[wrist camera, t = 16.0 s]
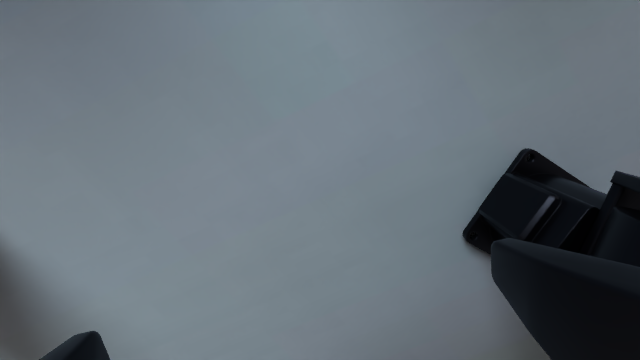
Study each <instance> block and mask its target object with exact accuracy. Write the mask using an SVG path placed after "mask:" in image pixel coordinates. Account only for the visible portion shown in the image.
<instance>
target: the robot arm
mask: <svg viewBox="0 0 640 360" xmlns="http://www.w3.org/2000/svg"><path fill="white" fill-rule="evenodd" d="M529 154H530V158H529V159H528V160H527V161H526V157H527V156H528V155H529ZM610 182H612V183H613V184H612V186H611V188H610V190H609V192H608V194H605V193H602V192H599V191H597V190H594V189H592V188H590V187H589V186H587V185H586V184H584V183H583V182H581V181H580V180H578V179H577V178H575V177H574V176H572V175H571V174H569V173H568V172H566V171H565V170H563V169H562V168H560V167H559V166H557V165H556V164H554V163H553V162H551V161H550V160H548V159H547V158H545V157H544V156H543V155H541V154H540V153H538V152H537V151H535V150H532V149H529V148H528V149H524V150H522V151H521V152H520V153H519V154H518V156H517V157H516V158H515V160H514V161H513V163H512V164H511V165H510V167H509V168H508V170H507V171H506V172H505V174H504V175H502V177H501V178H500V180H499V181H498V182H497V184H496V185H495V186H494V188H493V189H492V191H491V192H490V193H489V195H488V196H487V198H486V199H485V200H484V202H483V203H482V205H481V206H480V207H479V210H478V211H477V213H476V214H475V215H474V217H473V218H472V220H471V221H470V222H469V224H468V225H467V227H466V228H465V229H464V231H463V237H464V239H466V240H467V241H468V242H469V243H471V244H472V245H474V246H476V247H478V248H479V249H481V250H483V251H485V252H487V253H488V254H490V255H491V272H492V277H493V280H494V282H495V283H496V285H497V286H498V288H499V289H500V291H501V292H502V293H503V295H504V296H505V298H506V299H507V301H508V302H509V304H510V305H511V306H512V308H513V309H514V311H515V312H516V314H517V315H518V316H519V318H520V319H521V321H522V322H523V324H524V325H525V327H526V328H527V329H528V331H529V332H530V333H531V335H532V336H533V337H534V339H535V340H536V341H537V342H538V343H539V345H540V346H541V347H542V348H543V349H544V351H545V352H546V353H547V354H548V355H549V356H550V358H551V360H640V177H638V176H634V175H630V174H626V173H623V172H619V171H615V173H614V175H613V177H612V179H611V181H610ZM473 232H475V233H474V235H473V236H472V237H470V234H471V233H473ZM39 360H110V358H109V355H108V353H107V350H106V348H105V346H104V343H103V341H102V338H101V336H100V334H99V333H98V332H96V331H90V332H85V333H81V334H77V335H74V336H72V337H71V338H70V339H68V340H67V341H65V342H64V343H62V344H61V345H59V346H58V347H57V348H55V349H54V350H52V351H51V352H49V353H48V354H47V355H45V356H44V357H42V358H41V359H39Z"/></svg>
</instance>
